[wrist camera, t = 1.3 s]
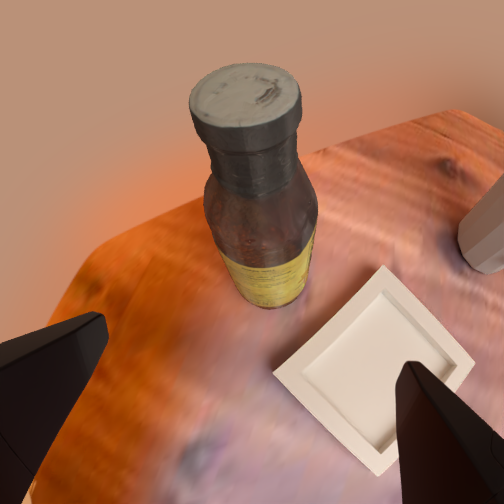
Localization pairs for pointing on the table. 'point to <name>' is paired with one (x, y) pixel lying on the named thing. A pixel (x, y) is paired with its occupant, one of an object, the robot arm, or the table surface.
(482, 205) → the water bottle
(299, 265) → the sauce bottle
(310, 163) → the table surface
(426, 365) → the holder tray
